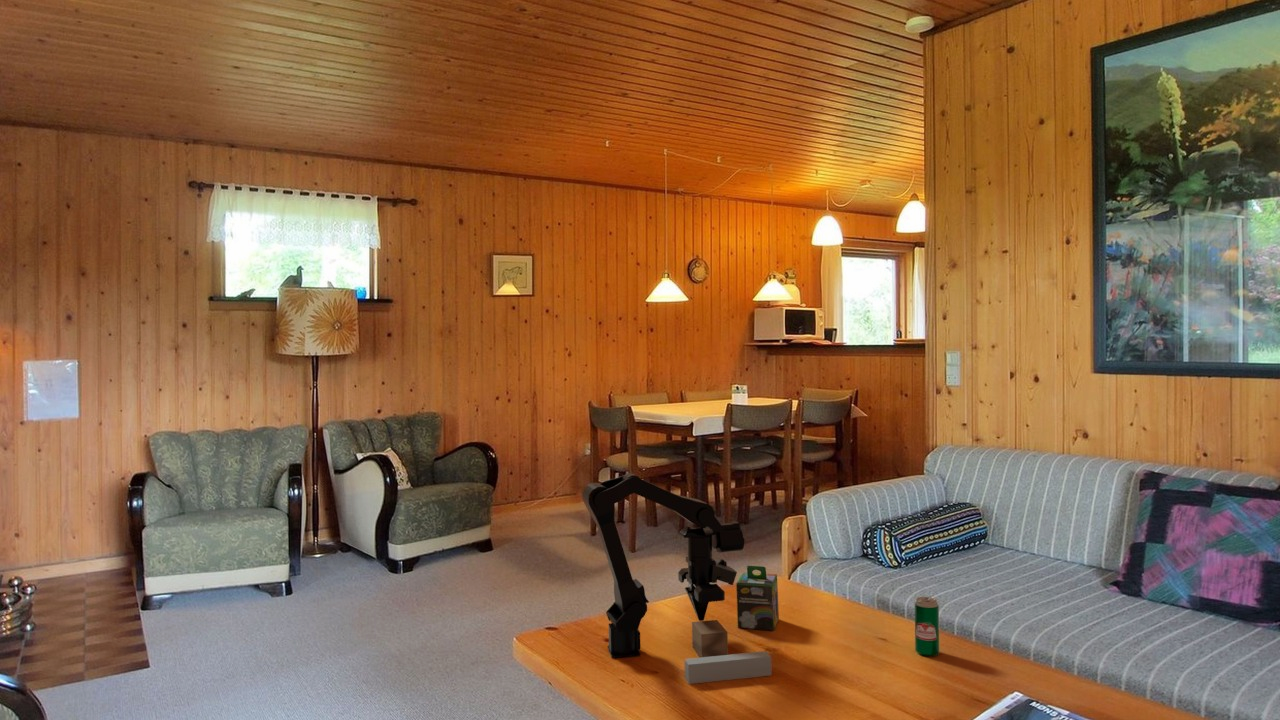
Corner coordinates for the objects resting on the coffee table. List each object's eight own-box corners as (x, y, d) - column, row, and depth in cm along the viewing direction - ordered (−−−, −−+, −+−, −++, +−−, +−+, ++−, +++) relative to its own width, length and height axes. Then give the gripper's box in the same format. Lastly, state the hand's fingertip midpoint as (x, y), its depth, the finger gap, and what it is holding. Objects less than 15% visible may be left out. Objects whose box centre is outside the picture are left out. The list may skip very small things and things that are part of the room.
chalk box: (779, 619, 198) (778, 561, 198) (774, 631, 189) (773, 571, 189) (743, 616, 201) (742, 558, 201) (736, 628, 192) (735, 568, 192)
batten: (688, 684, 160) (688, 664, 160) (684, 678, 163) (684, 659, 163) (771, 675, 164) (771, 656, 164) (766, 669, 167) (766, 651, 167)
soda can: (913, 655, 173) (912, 601, 173) (917, 647, 178) (916, 594, 178) (937, 659, 171) (937, 604, 171) (940, 651, 176) (940, 597, 175)
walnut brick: (701, 661, 172) (701, 634, 172) (692, 647, 180) (692, 622, 180) (727, 658, 174) (727, 631, 174) (717, 645, 181) (717, 619, 181)
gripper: (746, 562, 176) (747, 631, 176) (720, 542, 194) (721, 604, 194) (698, 565, 174) (699, 635, 174) (677, 545, 192) (678, 608, 192)
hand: (701, 620), depth 184 cm, fingers closed
